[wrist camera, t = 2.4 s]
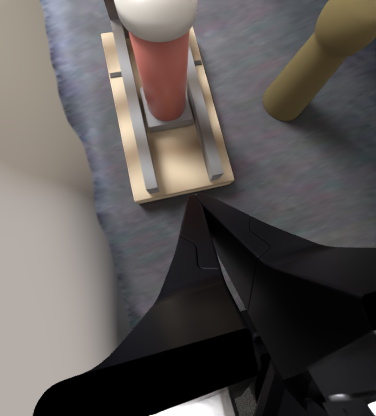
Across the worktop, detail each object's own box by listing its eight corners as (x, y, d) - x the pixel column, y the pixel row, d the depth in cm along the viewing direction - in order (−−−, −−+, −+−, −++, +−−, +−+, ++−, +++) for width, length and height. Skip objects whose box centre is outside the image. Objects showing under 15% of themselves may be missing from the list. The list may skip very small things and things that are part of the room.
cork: (255, 91, 23) (323, -28, 13) (290, 77, 24) (383, -47, 13) (275, 127, 23) (362, 35, 12) (310, 112, 24) (424, 12, 13)
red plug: (192, 125, 20) (207, 16, 10) (150, 133, 19) (119, 27, 9) (182, 87, 20) (187, -53, 10) (141, 94, 20) (103, -47, 10)
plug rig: (229, 184, 21) (248, 167, 15) (138, 204, 20) (122, 194, 14) (190, 39, 24) (194, -24, 18) (107, 50, 23) (82, -12, 17)
